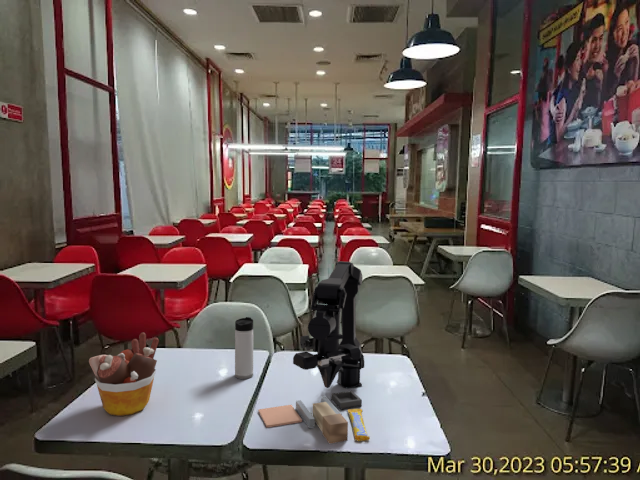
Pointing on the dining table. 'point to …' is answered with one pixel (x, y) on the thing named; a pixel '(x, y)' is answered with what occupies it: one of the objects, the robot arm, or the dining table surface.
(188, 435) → the dining table surface
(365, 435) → the candy bar
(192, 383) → the dining table surface
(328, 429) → the block
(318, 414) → the tan wooden bar
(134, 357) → the bucket of meat
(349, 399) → the tray
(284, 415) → the tile
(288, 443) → the dining table surface
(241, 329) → the travel mug
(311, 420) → the channel
